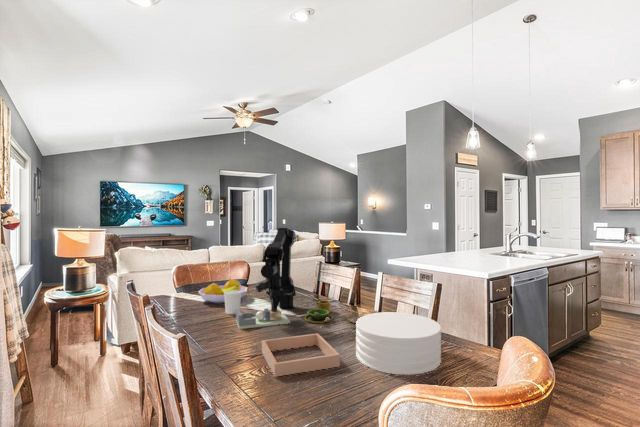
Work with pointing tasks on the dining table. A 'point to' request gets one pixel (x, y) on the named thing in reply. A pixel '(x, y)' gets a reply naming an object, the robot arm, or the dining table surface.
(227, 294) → the white cup
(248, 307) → the dining table surface
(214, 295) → the fruit bowl
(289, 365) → the rectangular frame
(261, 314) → the ball
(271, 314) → the sled
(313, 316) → the tableware set
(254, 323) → the pitch
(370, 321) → the plate stack
